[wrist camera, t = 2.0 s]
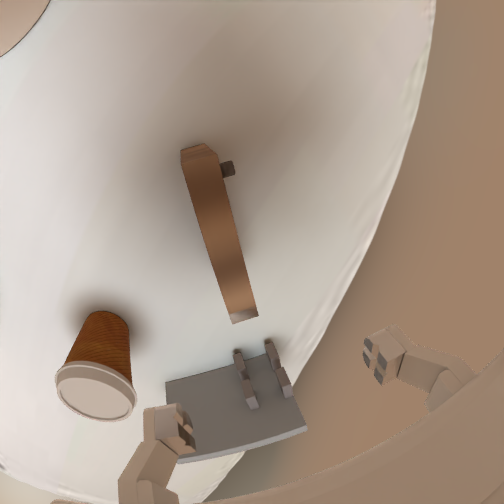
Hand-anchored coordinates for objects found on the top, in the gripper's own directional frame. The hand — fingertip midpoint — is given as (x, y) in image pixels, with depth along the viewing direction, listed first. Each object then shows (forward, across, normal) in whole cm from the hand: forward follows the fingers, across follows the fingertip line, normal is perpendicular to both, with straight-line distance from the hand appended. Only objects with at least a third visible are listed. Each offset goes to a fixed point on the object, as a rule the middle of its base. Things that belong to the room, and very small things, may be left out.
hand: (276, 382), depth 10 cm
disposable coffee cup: (+22, +18, +11) cm, 31 cm away
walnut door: (+22, 0, 0) cm, 22 cm away
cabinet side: (+22, +6, +23) cm, 33 cm away
